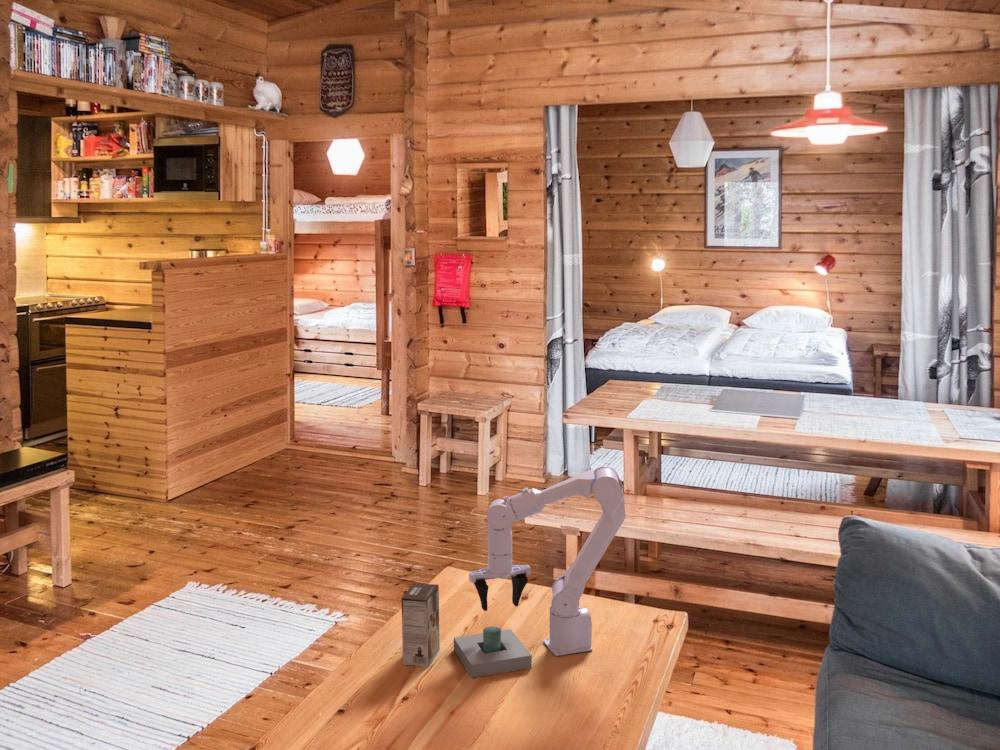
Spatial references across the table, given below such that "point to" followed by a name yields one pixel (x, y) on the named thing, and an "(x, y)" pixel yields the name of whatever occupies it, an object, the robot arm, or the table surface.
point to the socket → (492, 655)
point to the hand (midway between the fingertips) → (499, 607)
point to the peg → (491, 639)
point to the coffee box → (420, 624)
